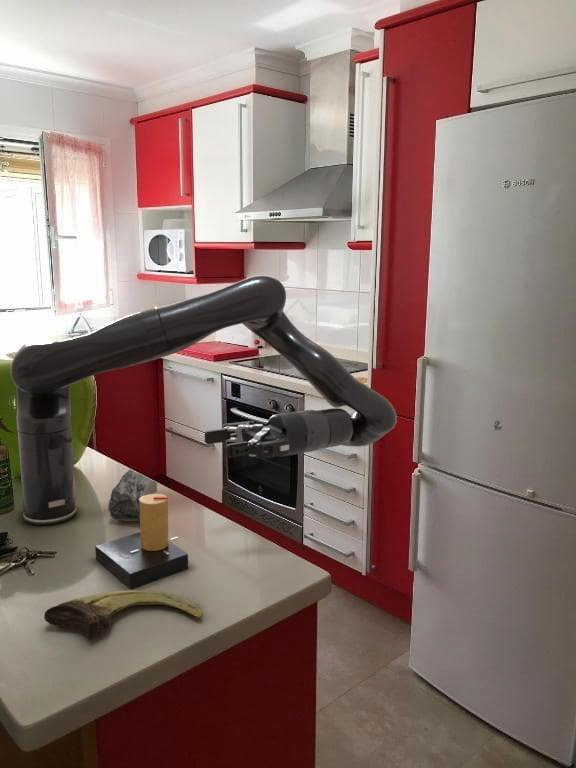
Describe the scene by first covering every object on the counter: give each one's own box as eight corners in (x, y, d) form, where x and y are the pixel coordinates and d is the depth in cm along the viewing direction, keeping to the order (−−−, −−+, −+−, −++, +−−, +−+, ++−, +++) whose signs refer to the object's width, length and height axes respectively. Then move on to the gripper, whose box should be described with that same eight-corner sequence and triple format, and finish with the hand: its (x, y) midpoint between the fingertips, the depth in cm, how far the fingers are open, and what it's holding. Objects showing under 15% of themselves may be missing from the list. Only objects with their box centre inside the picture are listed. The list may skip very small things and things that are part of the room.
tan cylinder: (138, 551, 100) (137, 502, 99) (143, 539, 105) (141, 491, 103) (166, 551, 101) (165, 502, 99) (170, 538, 105) (169, 491, 103)
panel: (95, 559, 103) (95, 544, 102) (159, 539, 110) (159, 525, 110) (130, 589, 94) (130, 573, 93) (197, 565, 101) (197, 549, 101)
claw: (49, 652, 79) (48, 628, 78) (46, 611, 88) (45, 588, 87) (203, 623, 86) (203, 600, 85) (185, 587, 95) (185, 567, 95)
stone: (116, 460, 120) (145, 472, 113) (152, 482, 127) (181, 495, 120) (88, 505, 117) (116, 520, 110) (126, 525, 124) (155, 541, 117)
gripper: (279, 403, 118) (198, 413, 110) (321, 421, 106) (234, 433, 98) (278, 442, 120) (198, 454, 112) (319, 463, 108) (234, 479, 100)
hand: (215, 444), depth 105 cm, fingers open, 8 cm apart
